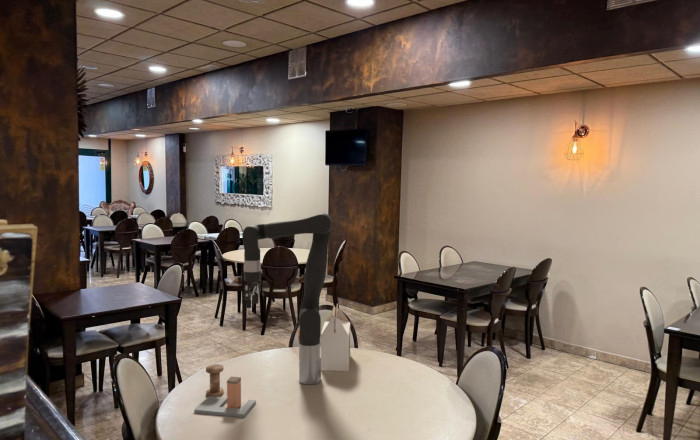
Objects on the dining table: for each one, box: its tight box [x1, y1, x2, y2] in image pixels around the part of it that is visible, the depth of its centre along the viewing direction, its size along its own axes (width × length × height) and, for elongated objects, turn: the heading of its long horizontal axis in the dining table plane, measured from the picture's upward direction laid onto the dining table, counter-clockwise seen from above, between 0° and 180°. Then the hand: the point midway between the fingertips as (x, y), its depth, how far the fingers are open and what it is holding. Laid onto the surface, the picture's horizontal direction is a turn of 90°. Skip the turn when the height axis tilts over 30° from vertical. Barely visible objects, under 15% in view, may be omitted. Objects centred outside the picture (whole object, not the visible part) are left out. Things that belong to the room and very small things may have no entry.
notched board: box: [193, 396, 257, 418], centre depth 182 cm, size 20×12×1 cm, turn 80°
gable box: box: [320, 303, 351, 372], centre depth 231 cm, size 22×13×28 cm, turn 178°
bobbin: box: [205, 363, 225, 398], centre depth 194 cm, size 7×7×11 cm
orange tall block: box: [226, 376, 242, 409], centre depth 183 cm, size 4×4×11 cm
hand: (252, 305), depth 210 cm, fingers open, 8 cm apart
